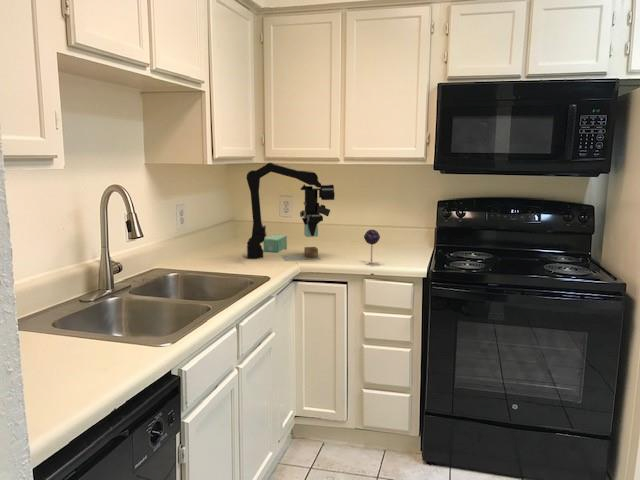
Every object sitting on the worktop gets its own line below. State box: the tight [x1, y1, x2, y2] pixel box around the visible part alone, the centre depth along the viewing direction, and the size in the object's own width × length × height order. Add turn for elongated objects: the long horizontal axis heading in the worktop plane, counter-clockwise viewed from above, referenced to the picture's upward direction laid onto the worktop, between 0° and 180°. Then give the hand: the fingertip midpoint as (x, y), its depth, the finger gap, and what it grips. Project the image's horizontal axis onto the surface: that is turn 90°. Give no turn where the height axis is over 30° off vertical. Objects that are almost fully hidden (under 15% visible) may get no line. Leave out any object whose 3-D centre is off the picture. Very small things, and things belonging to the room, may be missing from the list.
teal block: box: [303, 223, 319, 238], centre depth 239 cm, size 5×5×5 cm
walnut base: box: [304, 246, 319, 258], centre depth 241 cm, size 5×5×4 cm
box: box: [262, 234, 288, 253], centre depth 257 cm, size 7×14×8 cm, turn 165°
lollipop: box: [363, 229, 381, 265], centre depth 231 cm, size 7×7×15 cm
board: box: [280, 253, 321, 262], centre depth 240 cm, size 16×12×1 cm
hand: (311, 234), depth 239 cm, fingers closed on teal block, 5 cm apart
